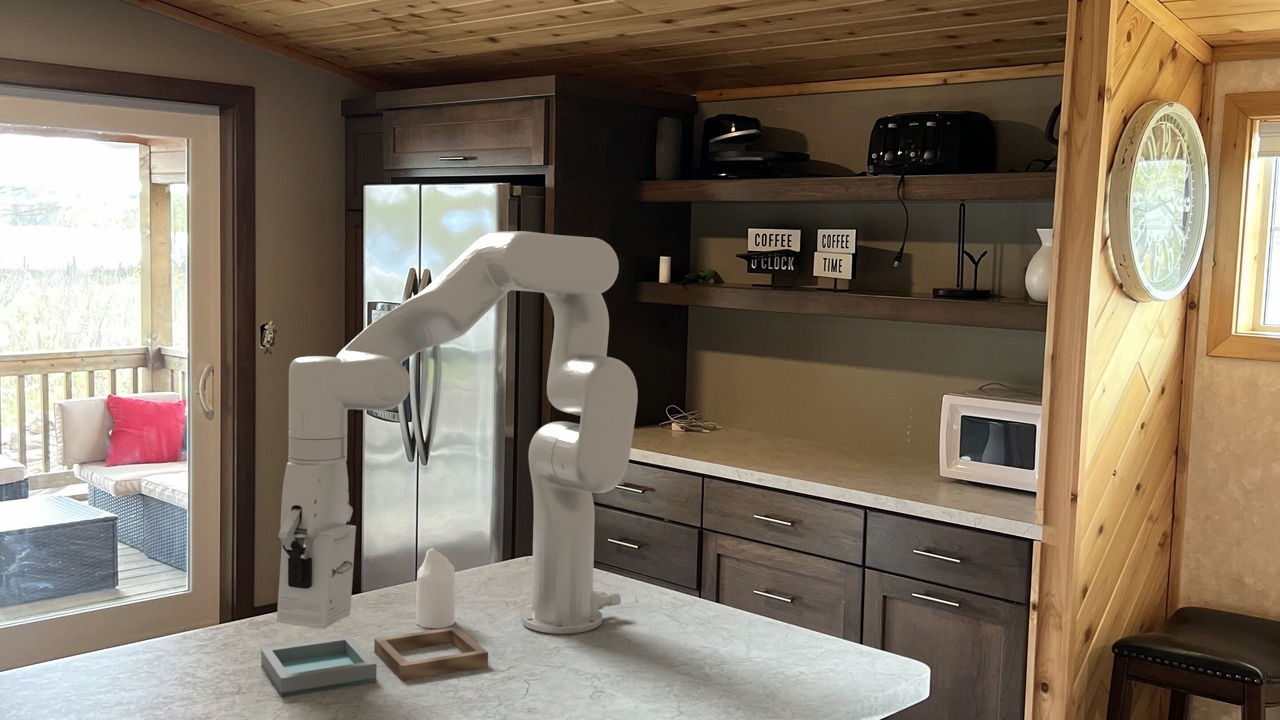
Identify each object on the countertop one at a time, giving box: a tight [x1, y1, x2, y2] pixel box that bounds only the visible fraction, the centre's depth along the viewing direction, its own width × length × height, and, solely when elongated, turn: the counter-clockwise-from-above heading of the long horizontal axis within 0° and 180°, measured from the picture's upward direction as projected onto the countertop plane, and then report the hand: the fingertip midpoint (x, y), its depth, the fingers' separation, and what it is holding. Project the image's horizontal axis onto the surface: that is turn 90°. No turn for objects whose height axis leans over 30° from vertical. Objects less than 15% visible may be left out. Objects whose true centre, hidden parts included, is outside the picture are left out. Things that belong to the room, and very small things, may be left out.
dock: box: [260, 635, 378, 698], centre depth 154 cm, size 12×12×2 cm
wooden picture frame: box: [374, 626, 489, 681], centre depth 160 cm, size 12×12×2 cm
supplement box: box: [276, 524, 357, 630], centre depth 152 cm, size 7×7×13 cm
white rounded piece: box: [415, 548, 456, 629], centre depth 176 cm, size 6×12×6 cm
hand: (317, 578), depth 152 cm, fingers closed on supplement box, 7 cm apart
